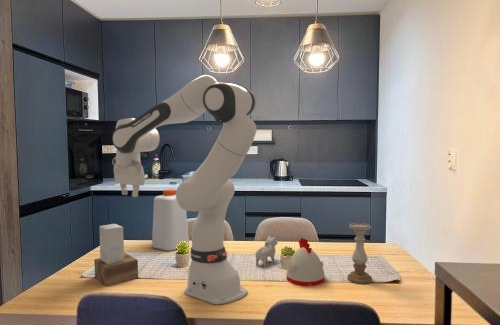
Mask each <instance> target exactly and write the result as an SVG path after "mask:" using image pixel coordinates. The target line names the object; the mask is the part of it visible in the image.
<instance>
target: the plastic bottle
mask: <svg viewBox="0 0 500 325" xmlns="http://www.w3.org/2000/svg"><path fill="white" fill-rule="evenodd" d="M176 191H177V189H171V188H170V189H169V188H167V189H163V191H162V194H161V195H157V196H155V197H154V199H153V212H152V213H153V214H152V215H153V216H152V233H151V234H152V236H151V237H152V238H151V239H152V240H151V245H152V248H154V249H155V250H156V249H157V250H161V251H166V252H172V251H177V250H176V246H177V244H178V243H179V242H180V241H186V242H188V243H190V239H189V238H190V237H189V228H188V226H189V225H188V217H187V215H188V213H187V211H186V210H183V209H182V208H181V207H180V206H179V205H178V203H177V200H176Z"/></svg>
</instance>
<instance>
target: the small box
mask: <svg viewBox="0 0 500 325" xmlns="http://www.w3.org/2000/svg"><path fill="white" fill-rule="evenodd" d="M124 239H125V238H124V227H123V226H122V225H119V224H117V223H110V224H105V225H104V224H103V225H99V251H100V252H99V258H100V260H102V261H103V262H105V263H106V264H113V263H117V262H121V261H124V253H125V242H124V241H125V240H124Z"/></svg>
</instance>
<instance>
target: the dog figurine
mask: <svg viewBox="0 0 500 325" xmlns="http://www.w3.org/2000/svg"><path fill="white" fill-rule="evenodd" d="M278 244H279V243H278V240H277V237H275V236H273V237H271V235H268V237H267V238H266V241H265V242H264V245H263V247H262V246H261V247H259V249H257V250H256V251H255V266H259V261H261V262H262V263H263V264H262V265H263V268H266V267H267V262H268V258H269V257H270V259H271V262H272V263H273V264H274V263H275V264H276V260H275V254H276V246H277V245H278Z"/></svg>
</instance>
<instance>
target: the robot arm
mask: <svg viewBox="0 0 500 325" xmlns="http://www.w3.org/2000/svg"><path fill="white" fill-rule="evenodd" d="M255 107H256V97H255V95H254V94H253V92H252V91H251V90H249V89H248V88H247V87H245V86H240V85H237V84H234V83H228V82H227V83H226V82H220V81H219V82H218V81H217V79H216V78H214V77H213V76H211V75H207V74H204V75H200V76H199V77H197V78H195V79H193V80H191V81H189V82H188V83H186V85H184V86H183V87H181V89H179V90H178V91H176V93H174V94H172V95H171V96H170V97H168V98H166V99H165V100H163V101H161V102H159V103H158V104H156V105H154V106H152V107H151V108H149V109H148V110H146V111H144V112H143V113H142V114H140V115H139V116H138V117H136V118H135V117H125V118H121V119H119V120H117V121H116V125H115V129H114V131H113V133H112V137H111V140H112V141H111V142H112V144H113V146H114V148H115V149H116V151H115V153H116V154H115V155H116V156H114V158H112V159H111V161H112V162H111V164H112V165H113V175H114V176H113V177H114V180H115V183H117V184H119V186H120V189H121V194H122V195H123V196H127V195H128V192H129V191H128V189H127V185H130V186H132V192H131V197H133V198H137V197H139V190H140V186H144V185H145V182H146V181H145V180H146V178H145V171H144V167H143V165H142V163H141V153H142V152H143V153H144V152H152V151H155V150H156V149H157V148H158V147H159V145H160V142H161V136H160V132H159V131H158V129H157V128H159V127H161V126H167V125H174V124H185V123H188V122H189V123H190V122H191V121H193V120H195V119H198V118H199V117H200V116H201V115H203V114H204V113H206V112H208V114H210V115H211V116H212V117H213V118H214V120H215V121H216V122H217V123H218V124H222V129H221V131H220V132H219V134H218V137H217V138H216V141H215V142H214V144H213V146H212V148H211V149H210V151H209V153H208V155H207V156H206V158H204V161H203V162H202V163H201V164H200V165H199V167H197V169H196V170H195V171H194V172H193V173H192V174H191V175H190V177H189V178H187V179H186V180H184V181H183V182H182V183H180V184H179V185H178V186H177V188H176V200H177V203H178V205H179V206H180V207H181V208H182V209H183V210H186V212H198V214H197V215H196V216H197V217H196V218H195V220H194V221H193V223H192V225H191V248H190V259H191V262H190V264H189V266H188V270H187V284H186V286H187V287H186V288H185V289H184V294H185V295H187V296H191V297H193V298H195V299H198V300H202V301H203V302H206V303H210V304H213V305H223V304H228V303H232V302H234V301H237V300H239V299H242V298H244V297H245V296H247V294H248V293H249V292H248V289H247V288H245V287H244V286H242V285H241V279H240V275H239V271H238V269H235V268H234V267H233V265H232V264H231V262H230V261H229V260H228V256H229V254H228V253H229V252H228V251H226V247H225V245H224V225H225V224H224V223H225V220H226V215H227V211H228V210H227V209H228V207H229V204H230V202H231V200H232V199H233V197H234V195H235V190H236V189H235V184H234V183H233V180H231V178H232V177H234V176H235V175H236V174H237V173H238V171H239V169H240V167H241V165H242V164H243V162H244V160H245V158H246V156H247V154H248V153H249V151H250V149H251V147H252V145H253V142H254V139H255V137H256V134H257V124H256V123H255V122H254V120H253V119H252V118H250V117H249V115H250V114H251V113H253V111H254V110H255Z"/></svg>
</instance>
